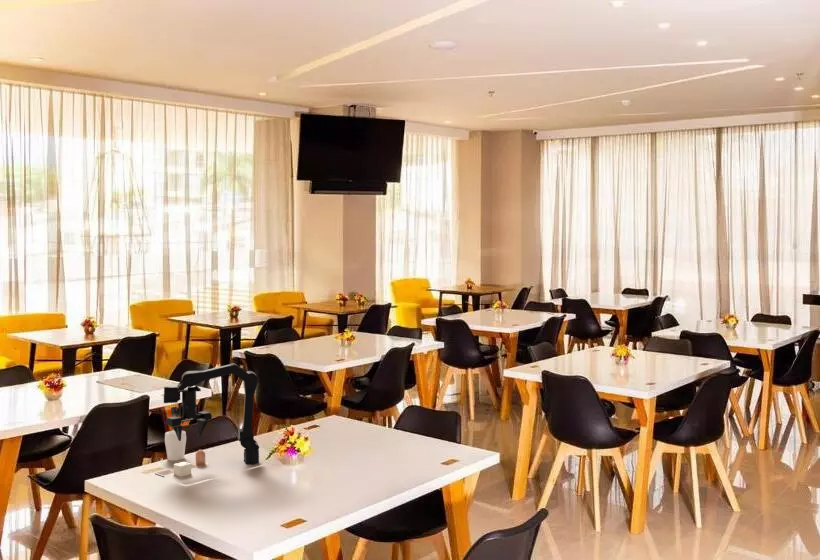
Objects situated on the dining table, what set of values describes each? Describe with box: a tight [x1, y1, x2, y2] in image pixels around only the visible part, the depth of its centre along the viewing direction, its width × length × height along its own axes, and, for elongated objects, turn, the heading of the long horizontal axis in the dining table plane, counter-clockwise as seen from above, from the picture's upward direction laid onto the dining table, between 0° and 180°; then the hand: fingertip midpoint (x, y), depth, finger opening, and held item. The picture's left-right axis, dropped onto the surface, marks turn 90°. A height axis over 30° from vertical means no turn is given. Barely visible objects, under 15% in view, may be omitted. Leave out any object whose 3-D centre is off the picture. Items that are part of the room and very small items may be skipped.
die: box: [173, 461, 192, 477], centre depth 330 cm, size 5×5×5 cm
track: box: [154, 461, 210, 478], centre depth 339 cm, size 23×6×1 cm, turn 138°
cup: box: [164, 430, 187, 462], centre depth 353 cm, size 9×9×12 cm
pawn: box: [195, 449, 206, 466], centre depth 345 cm, size 4×4×6 cm
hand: (189, 438), depth 339 cm, fingers open, 9 cm apart
